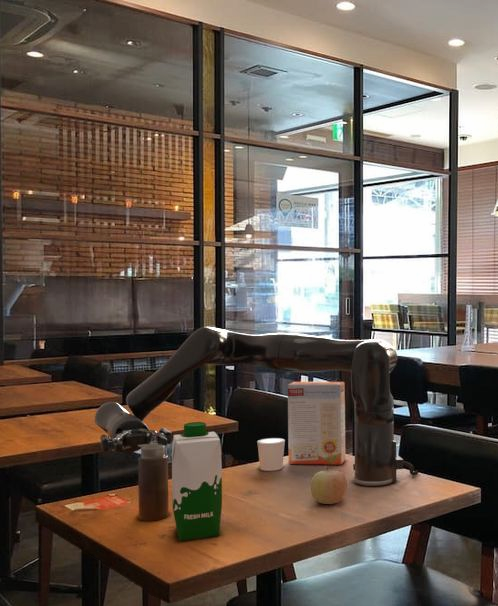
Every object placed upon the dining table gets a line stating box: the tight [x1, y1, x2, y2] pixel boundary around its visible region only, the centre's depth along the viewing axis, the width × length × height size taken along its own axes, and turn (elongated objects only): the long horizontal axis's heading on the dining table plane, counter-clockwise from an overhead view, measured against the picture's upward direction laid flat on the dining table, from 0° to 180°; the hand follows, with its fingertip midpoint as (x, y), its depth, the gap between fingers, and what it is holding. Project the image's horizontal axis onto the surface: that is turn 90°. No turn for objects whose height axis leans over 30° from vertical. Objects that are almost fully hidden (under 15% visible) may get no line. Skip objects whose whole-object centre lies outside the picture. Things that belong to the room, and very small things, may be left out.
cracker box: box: [287, 381, 346, 466], centre depth 183 cm, size 14×6×21 cm, turn 84°
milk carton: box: [171, 421, 223, 542], centre depth 131 cm, size 9×9×20 cm
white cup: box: [256, 437, 286, 472], centre depth 178 cm, size 7×7×7 cm
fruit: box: [310, 465, 348, 505], centre depth 149 cm, size 8×7×8 cm
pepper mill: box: [137, 445, 170, 522], centre depth 141 cm, size 6×6×14 cm
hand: (142, 445), depth 150 cm, fingers open, 8 cm apart
